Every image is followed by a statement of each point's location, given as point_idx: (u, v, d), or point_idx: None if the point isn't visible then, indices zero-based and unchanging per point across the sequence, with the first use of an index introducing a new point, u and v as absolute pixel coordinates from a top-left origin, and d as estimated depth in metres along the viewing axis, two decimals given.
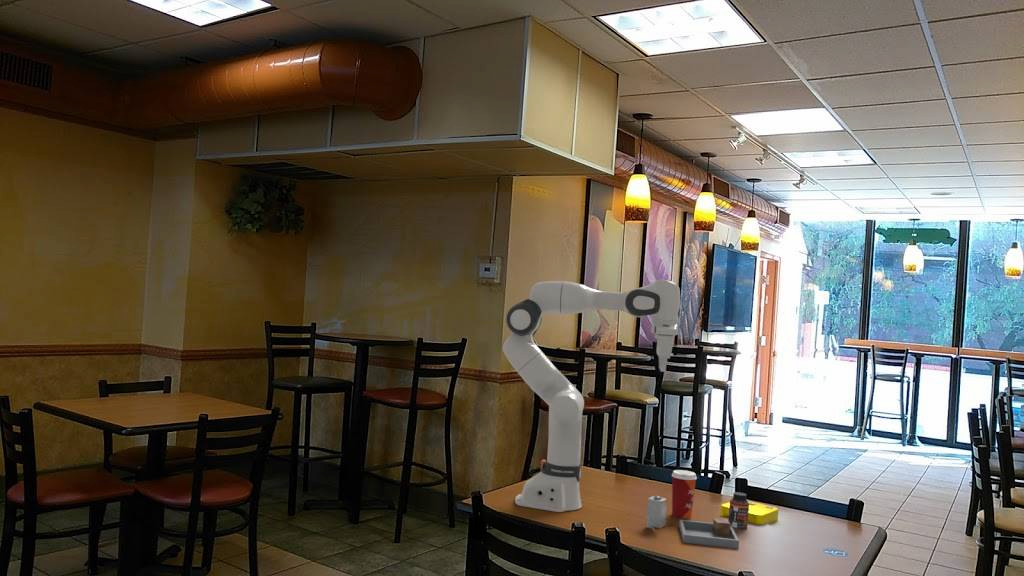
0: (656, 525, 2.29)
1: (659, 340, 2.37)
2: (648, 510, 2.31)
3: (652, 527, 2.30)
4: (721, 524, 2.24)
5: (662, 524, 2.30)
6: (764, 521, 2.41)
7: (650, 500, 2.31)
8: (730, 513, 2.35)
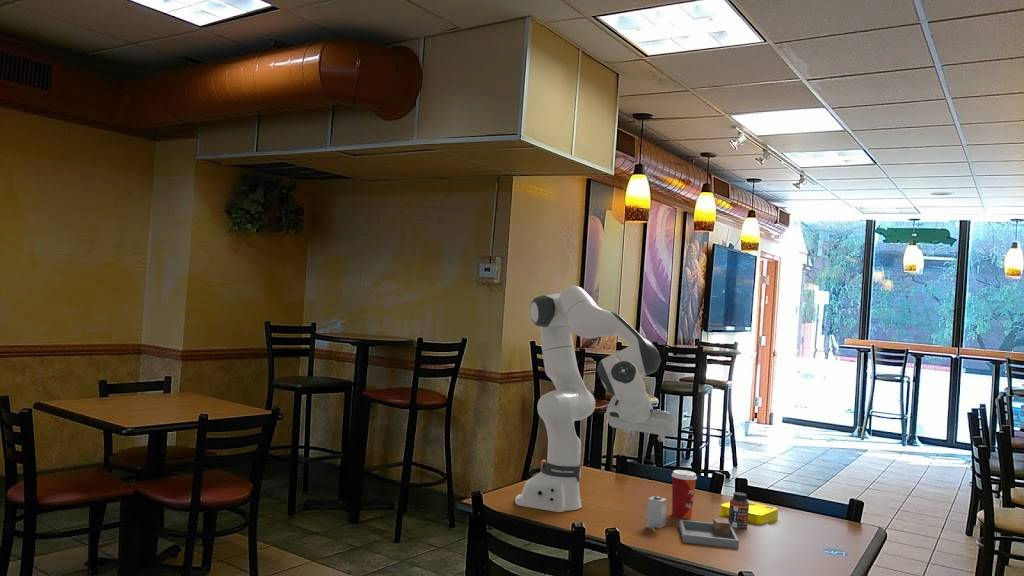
0: (656, 525, 2.29)
1: None
2: (648, 510, 2.31)
3: (652, 527, 2.30)
4: (721, 524, 2.24)
5: (662, 524, 2.30)
6: (764, 521, 2.41)
7: (650, 500, 2.31)
8: (730, 513, 2.35)
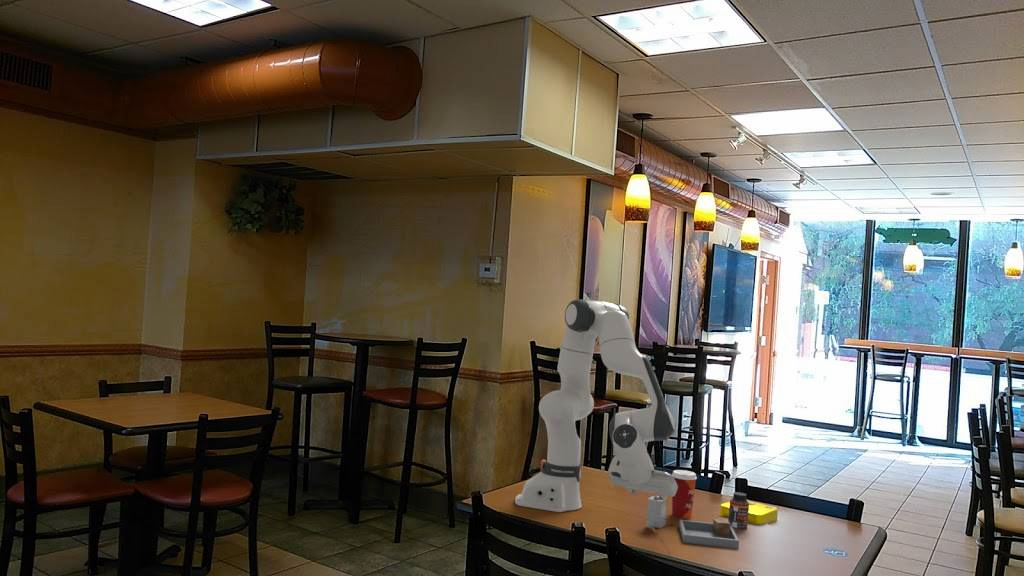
0: (656, 525, 2.29)
1: None
2: (648, 510, 2.31)
3: (652, 527, 2.30)
4: (721, 524, 2.24)
5: (662, 524, 2.30)
6: (763, 521, 2.41)
7: (650, 500, 2.31)
8: (730, 513, 2.35)
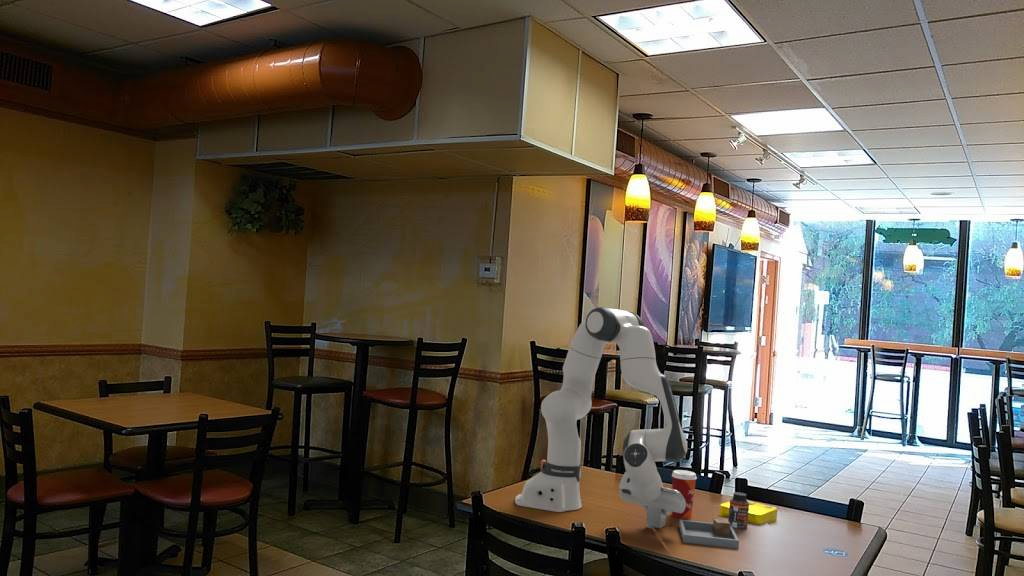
0: (656, 525, 2.29)
1: None
2: (648, 510, 2.31)
3: (652, 527, 2.30)
4: (721, 524, 2.24)
5: (662, 524, 2.30)
6: (763, 521, 2.41)
7: None
8: (730, 513, 2.35)
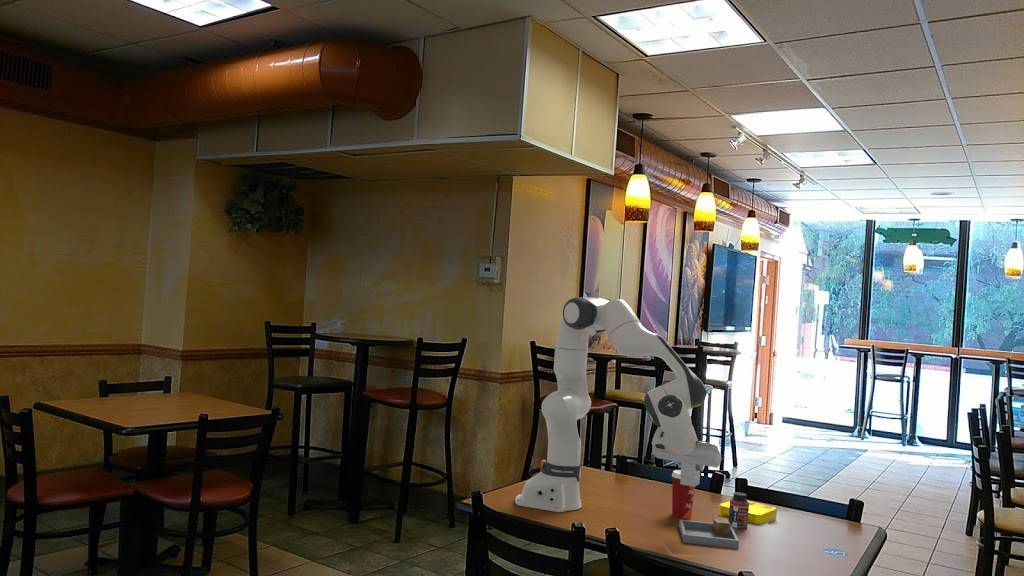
0: (690, 481, 2.24)
1: None
2: (682, 466, 2.25)
3: (686, 483, 2.24)
4: (721, 524, 2.24)
5: (696, 480, 2.25)
6: (762, 520, 2.42)
7: None
8: (730, 513, 2.35)
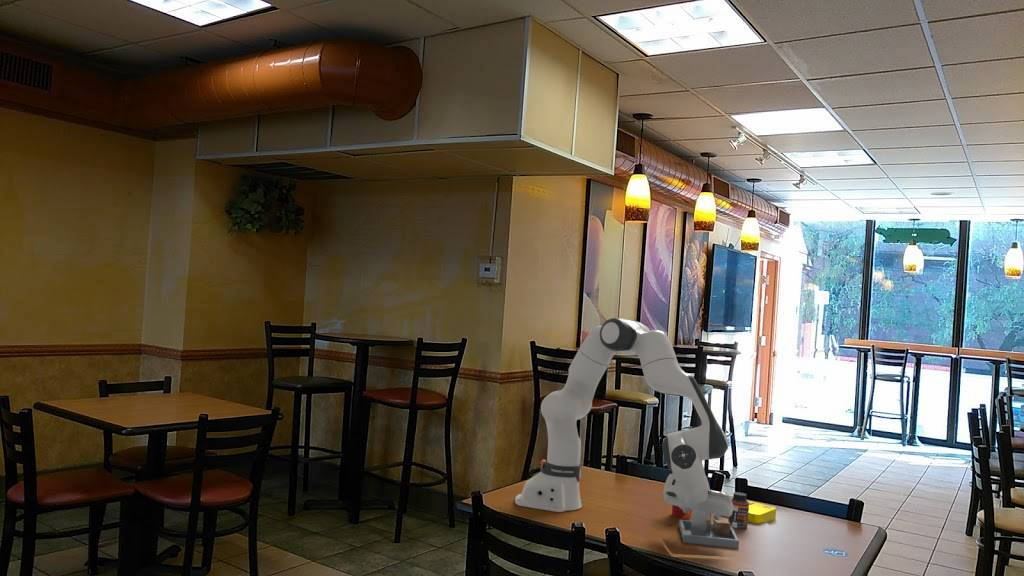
0: (701, 533, 2.21)
1: None
2: (692, 517, 2.23)
3: None
4: (721, 524, 2.24)
5: (707, 532, 2.22)
6: (762, 520, 2.42)
7: None
8: None
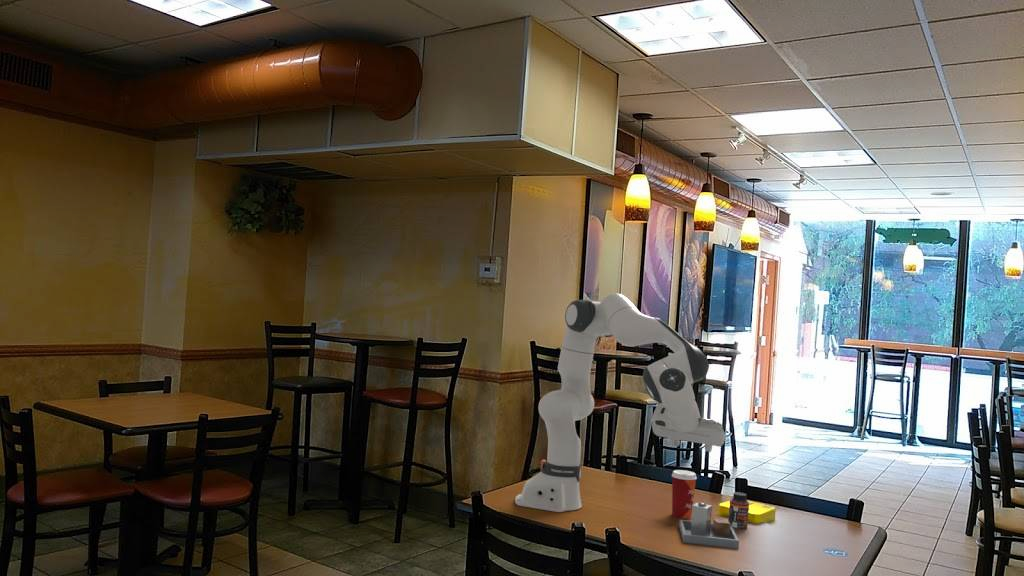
0: (701, 533, 2.21)
1: None
2: (692, 517, 2.23)
3: None
4: (721, 524, 2.24)
5: (707, 532, 2.22)
6: (761, 520, 2.42)
7: (695, 507, 2.23)
8: (730, 513, 2.35)
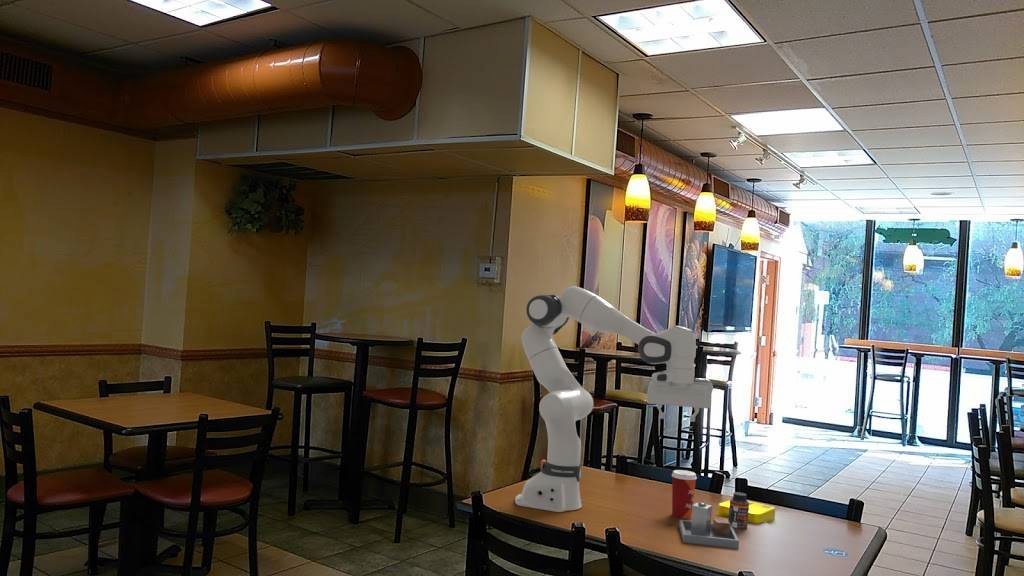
0: (701, 533, 2.21)
1: None
2: (692, 517, 2.23)
3: None
4: (721, 524, 2.24)
5: (707, 532, 2.22)
6: (761, 520, 2.42)
7: (695, 507, 2.23)
8: (730, 513, 2.35)
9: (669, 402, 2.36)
